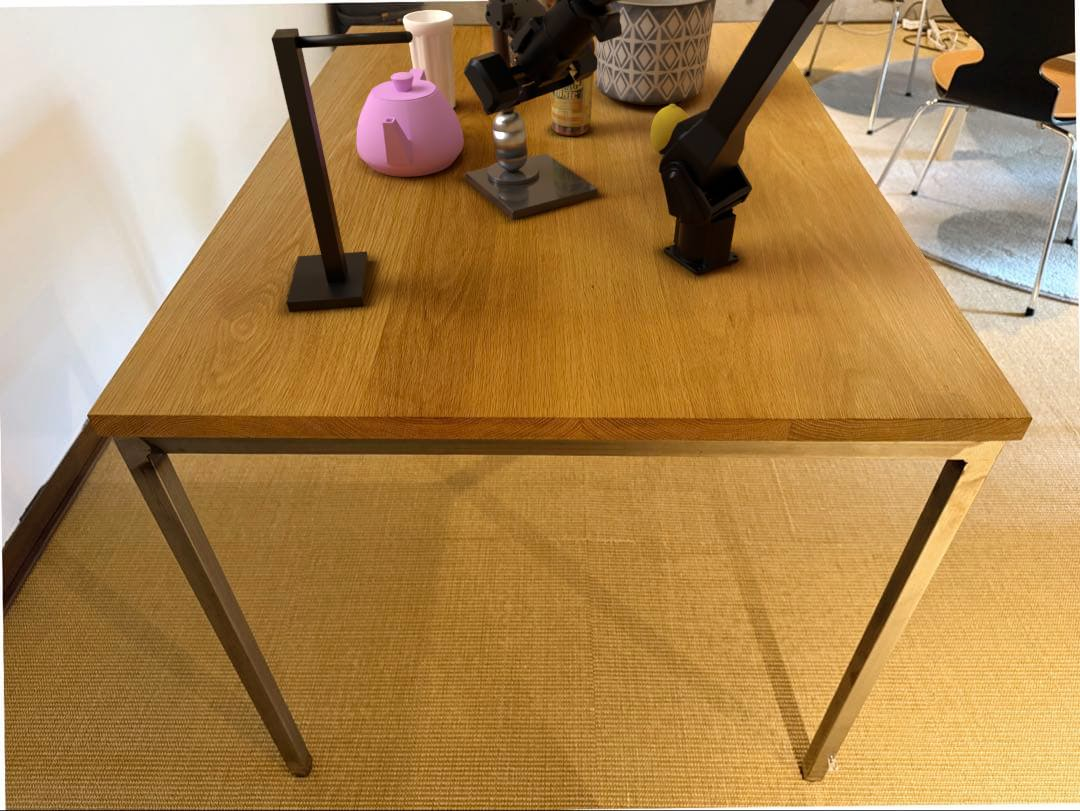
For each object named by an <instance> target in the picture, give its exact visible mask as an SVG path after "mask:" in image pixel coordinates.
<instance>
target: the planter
mask: <svg viewBox="0 0 1080 811" xmlns="http://www.w3.org/2000/svg"><path fill="white" fill-rule="evenodd" d="M716 3H717V0H621V1H617V2H614V3H611V4H610V5H611V7H612V9H613V10H614V11H616V12H620V23H621V26H622V35H621V36H619V37H617V38H614V39H611V40H608V41H605V42H602V43H600V42H599V41H598V40H597V38H596V37H595V55H596V57H597V70H596V71H595V85H596V88H597V90H599V92H600V93H601V94H602V95H604V96H606V97H608V98H611V99H613V100H616V101H619V102H624V103H629V104H634V105H639V106H662V105H667V104H668V105H670V104H675V103H680V102H684V101H688V100H690V99H692V98H695V97H696V96H698V95H699V94H700V93H701V92H702V90H703V88H704V85H705V78H706V72H707V65H708V64H707V63H708V57H709V50H710V45H711V44H710V43H711V38H712V30H713V25H714V17H715V12H716V11H715V10H716V5H717V4H716Z"/></svg>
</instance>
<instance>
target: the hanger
mask: <svg viewBox="0 0 1080 811" xmlns="http://www.w3.org/2000/svg"><path fill="white" fill-rule="evenodd" d="M412 40H413V35H412V33H411V32H409V31H406V30H397V31H379V32H360V33H359V32H358V33H355V32H354V33H338V34H337V33H336V34H335V33H334V34H318V35H314V34H313V35H300V32H299V29H298V28H297V27H295V28H294V27H293V28H276V29H275V31H274V32H273V34H272V37H271V44H272V48H273V50H274V51H273V52H274V56H275V61H276V65H277V69H278V73H279V78H280V82H281V86H282V91H283V96H284V99H285V100H284V101H285V104H286V108H287V113H288V117H289V121H290V127H291V131H292V134H293V139H294V144H295V148H296V152H297V157H298V160H299V166H300V170H301V174H302V179H303V181H304V188H305V192H306V195H307V200H308V204H309V209H310V212H311V213H310V214H311V218H312V221H313V226H314V231H315V235H316V239H317V243H318V248H319V253H320V254H311V255H298V256H297V259H296V262H295V267H294V271H293V275H292V278H291V283H290V287H289V290H288V294H287V299H286V306H287V310H288V312H299V311H311V310H324V309H325V310H327V309H339V308H352V307H353V308H354V307H363V306H364V304H365V303H364V302H365V296H366V285H367V277H368V276H367V275H368V267H369V255H368V251H353V252H352V251H351V252H345V249H344V245H343V244H344V243H343V240H342V235H341V231H340V225H339V220H338V216H337V211H336V206H335V202H334V196H333V192H332V191H333V190H332V186H331V181H330V177H329V171H328V167H327V163H326V158H325V153H324V148H323V143H322V139H321V134H320V128H319V123H318V118H317V114H316V109H315V105H314V104H315V103H314V100H313V95H312V91H311V85H310V80H309V76H308V71H307V65H306V61H305V56H304V52H303V49H313V48H317V49H318V48H333V47H336V48H337V47H354V46H374V45H395V44H409V43H410V42H411V41H412Z"/></svg>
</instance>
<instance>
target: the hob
mask: <svg viewBox="0 0 1080 811" xmlns="http://www.w3.org/2000/svg"><path fill="white" fill-rule="evenodd" d="M464 175H465V181H466V182H467V183H468V184H469V185H471V186H472V187H473V188H474V189H475V190H476V191H478V192H479V193H480V194H481V195H483V196H484V197H485V198H486V199H487V200H488V201H489V202H491V203H492V204H493V205H494V206H496V207H497V208H498V209H499V210H500V211H502V212H503V213H504V214H505V215H506V216H508V217H509V218H510V219H511V220H518V219H520V218H521V219H522V218H525V217H528V216H531V215H535V214H539V213H543V212H546V211H549V210H553V209H556V208H560V207H561V208H562V207H564V206H568V205H571V204H575V203H579V202H582V201H587V200H589V199H593V198H597V197H598V191H599V190H598V187H596V186H595V185H594V184H592V183H591V182H589V181H587V180H586V179H584V178H583V177H581V176H580V175H579V174H577V173H575V171H573V170H572V169H570V168H568V167H567V166H565V165H564V164H563V163H561V162H560V161H558V160H556V159H555V158H553V157H552V156H551V155H549V154H548V153H546V152H544V153H541V154H536V155H533V156H528V157H527V161H526V163H525V164H524V166H523V167H522V168H520V169H518V170H516V171H508V170H505V169H504V168H502V167H501V166H500V165H499V163H498V162H494V163H493V164H491V165H490V166H488V167H482V168H480V169H479V168H478V169H474V170H471V171H466V172H465V174H464Z"/></svg>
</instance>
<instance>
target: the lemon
mask: <svg viewBox="0 0 1080 811" xmlns="http://www.w3.org/2000/svg"><path fill="white" fill-rule="evenodd" d="M687 118H689V116H688V114H687V113H686V112H685V110H684V109H683V108H682V107H679V106H677V105H676V104H675V103H669V104H668V105H667V106H664V107H663V108H661V109H660V110H658V112H657V113H656V114H655V115H654V117H653V119H652V123H651V127H650V143H651V146H652V148H653V150H654V151H655V152H656V153H657V154H658V155H660V156H662V157H663V156H664V155H663V154H660V153H659V151H660V150H662V149H663V148H664V147H665V146H666V145H667V144H668V142H669V140H670V137H671V135H672V132H673V130H674V128H675V126H676V125H677V123H678V122H681V121H683V120H685V119H687Z"/></svg>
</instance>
